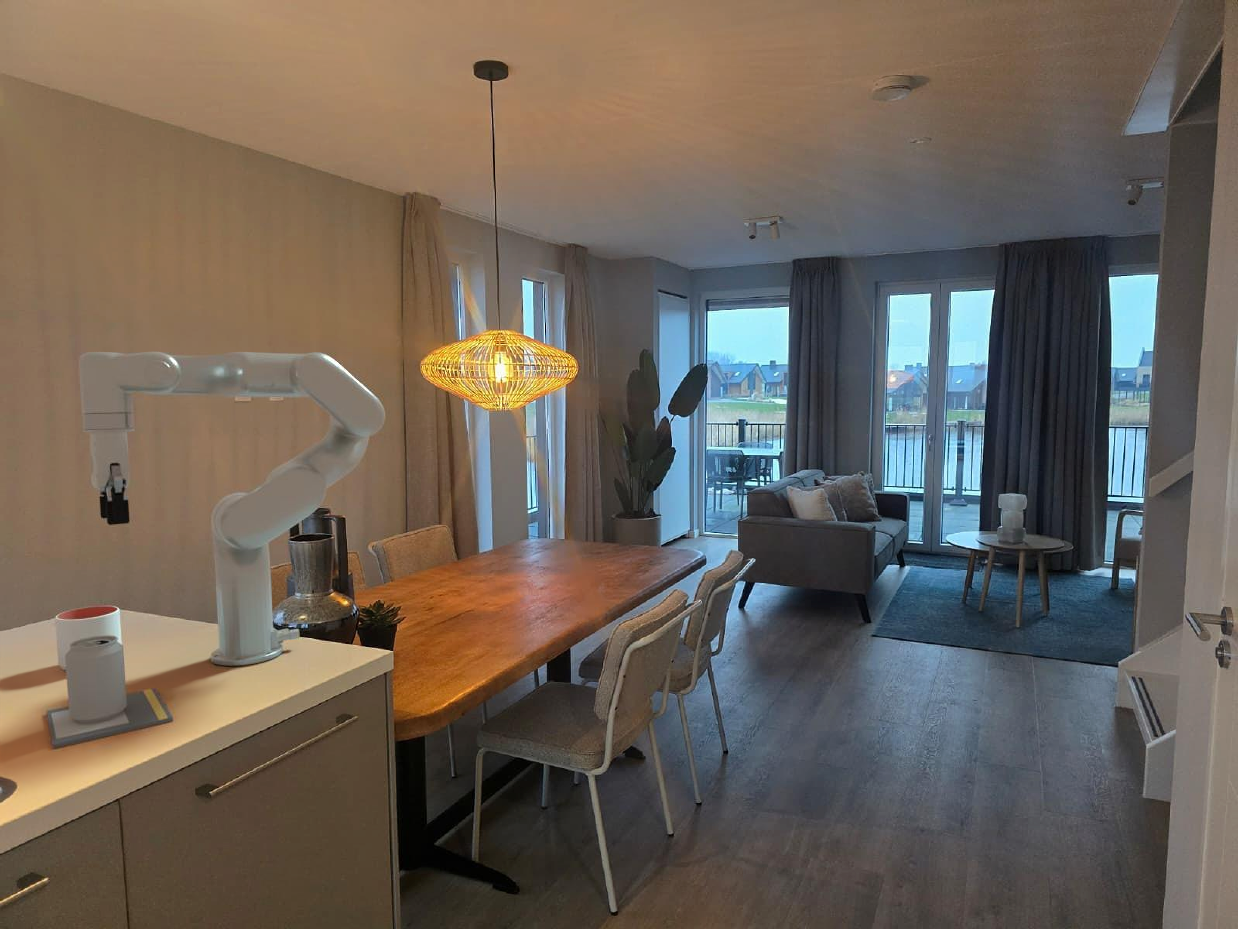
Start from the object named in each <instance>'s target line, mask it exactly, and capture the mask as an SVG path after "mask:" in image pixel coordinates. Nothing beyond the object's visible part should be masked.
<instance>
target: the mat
mask: <svg viewBox="0 0 1238 929" xmlns="http://www.w3.org/2000/svg"><path fill="white" fill-rule="evenodd" d="M126 698H127V707H126V708H125V709H124V710H123V711H122V712H121V713H120V714H119V715H118V716H116V717H114V718H111V719H109V720H105V721H101V722H96V723H79V722H77V721H76V720H74V719H72V718H70V717H69V705H67V706H64V707H63V706H62V707H58V708H53V709H48V710H45V712H46V718H47V724H48V729H49V734H50V738H51V739H50V740H51V744H52V749H59V748H63V747H67V746H71V745H76V744H80V743H85V742H88V741H93V740H97V739H101V738H106V737H110V736H115V735H119V734H123V733H127V732H131V731H135V730H137V731H138V730H140V729H145V728H149V727H153V726H157V725H162V724H166V723H170V722H173V721H174V720H173V716H172V715H171V713H170V711H169V710H168V707H167V706H166V704H165V702H164V701H163V699H162V697H161V695H160V694H159V692H158V691H157V689H156V688H147V689H142V690H140V691H135V692H131V693H130V692H129V693H126Z"/></svg>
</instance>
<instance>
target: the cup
mask: <svg viewBox="0 0 1238 929" xmlns="http://www.w3.org/2000/svg"><path fill="white" fill-rule="evenodd" d="M54 620H55V621H54V622H55V636H56V646H57V647H56V649H57V661H58V662H57V664H58V665H59V667H60V668H61V669H62V670H64V671H66V661H65V655H66V653H67V652H68V651H69V650H70V649H71V647H70V644H71V643H73V642H74V641H77V640H80V639H84V638H88V637H94V636H104V635H111V636H116V637H118V640H117V642H119V643H120V644H121V645H123V643H122V629H121V628H122V627H121V612H120V608H119V607H117V606H114V605H98V606H97V605H96V606H86V607H85V606H84V607H80V608H74V609H70V610H67V611H66V610H65V611H64V612H61V613H59V614H57V615H56V616H55V617H54Z"/></svg>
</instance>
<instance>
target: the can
mask: <svg viewBox="0 0 1238 929" xmlns="http://www.w3.org/2000/svg"><path fill="white" fill-rule="evenodd" d="M117 640H118V637H116V636H111V635H104V636H94V637H88V638H84V639H80V640H77V641H74V642H73V643H71V644H70V647H71V649H70V650H69V651H68V652H67V653H66V655H65V661H66V670H65V671H66V672H65V674H66V675H65V676H66V687H67V689H66V690H67V701H68V706H69V717H70V718H72V719H74V720H76V721H77V722H79V723H96V722H101V721H105V720H109V719H111V718H114V717H116V716H118V715H119V714H120V713H121V712H122V711H123V710H124V709H125V708H126V707H127V698H126V694H127V687H126V686H127V683H126V672H125V656H124V654H125V653H124V652H125V651H124V645H123V644H122V645H121V644H120V643H119V642H117Z"/></svg>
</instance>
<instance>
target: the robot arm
mask: <svg viewBox="0 0 1238 929" xmlns="http://www.w3.org/2000/svg"><path fill="white" fill-rule="evenodd" d="M78 373H79V374H78V375H79V386H80V401H81V402H80V403H81V416H82V419H81V420H82V432H83V433H85V434H86V433H88V434H90V436H89V438H90V440H89V450H90V455H89V456H90V476H91V480H90V481H91V482H90V483H91V486H92V487H94V488H95V489H96V490H98V491H99V493H100V496H99V509H100V510H99V511H100V512H99V514H100V518H101V519H106V522H107V524H108V525H110V526H113V525H125V524H130V508H129V500H128V494H127V488H128V487H129V486H130V456H129V443H128V442H129V441H128V432H135V418H134V403H133V392H134V393H144V394H149V395H155V396H156V395H157V396H158V395H159V396H160V395H161V396H163V395H166V396H167V395H175V396H177V395H179V396H180V395H181V396H182V395H185V396H186V395H189V396H191V395H192V396H193V395H194V396H195V395H197V396H198V395H199V396H200V395H201V396H204V395H205V396H207V395H208V396H222V397H229V398H311V399H312V400H313V401H314V402H315V403H317V405H319V406H320V408H322V409H323V410H324V411H326V413H328V414H329V422H330V423H329V427H328V431H327V433H326V434H325V435H324V437H323V438H322V439H320V440H319V441H317V442H316V443H315V444H313V445H311V447H309V448H307V449H306V450H304V451H303V452H301V453H299V454H297V455H296V456H294V457H293V458H291V459H290V460H288V461H285V462H284V463H282V464H280V465H278V466H277V467H275V468H274V469H273V470H272V471H271V472H270V473H269V474H268V475H267V478H266V481H265V482H264V483H263V484H261V485H259V486H258V487H256V488H255V489H253V490H251V491H250V492H248V493H247V492H233V493H230V494H227V495H226V496H224V497H222V498H221V499H219V501H218V502H217V503H216V505H215V506H214V507H213V510H212V513H211V519H210V526H211V537H212V544H213V545H212V546H213V556H214V567H215V568H214V570H215V571H214V572H215V589H216V590H215V592H216V595H215V596H216V608H217V609H216V610H217V626H218V627H217V629H218V632H217V633H218V645H219V646H218V648H216V649H214V650H213V651H212V652H211V654H210V662H211V663H213V664H215V665H218V666H224V667H225V666H226V667H229V666H230V667H231V666H232V667H235V666H246V665H252V664H253V665H254V664H258V663H263V662H265V661H270V660H272V659H274V658H277V657H278V656H280V655H281V654H282V653H283V651H284V648H283V644H282V643H283V642H284V641H291V640H297V639H300V635H301V634H300V630H299V628H294V629H289V628H283V629H279V630H278V629H276V628H275V627H274V622H273V620H274V619H273V618H274V616H273V600H272V597H273V596H272V578H271V577H272V576H271V574H272V573H271V557H270V555H271V554H270V548H269V543H270V542H271V541H273V540H275V539H276V538H277V537H280V536H282V534H284V533H286V532H287V531H289V530H290V529H292V528H293V527H295V526H297V525H298V524H299V523H301V522H302V521H304V520H305V519H306V518H308V517H309V516H311V515H312V514H314V513H315V511H316V510H318V509H319V508H320V507H321V506H322V504H323V502H324V500H325V499H326V496H327V489H328V488H330V487H332V486H333V485H335V484H336V483H337V482H338V481H339V480H341V479H343V478H344V477H346V476H347V475H348V474H349V473H351V472H352V471H353V470H355V468H356V467H357V466H358V465H359V464H360V463H361V461H362V459H363V458H364V456H365V453H366V450H367V448H368V444H369V441H370V440H369V438H370V436H371V437H372V436H373V435H375V434H377V433H378V432H379V431H380V430H381V429H382V428H383V426H384V423H385V421H386V412H385V408H384V405H383V404H382V402H381V400H380V399H379V398H378V397H377V396H376V395H375V394H374V393H372V391H370V390H369V389H368V388H367V387H366V386H365V385H364V384H363V383H361V382H360V381H359V380H357V378H355V377H354V376H353V375H352V374H351V373H350V372H349V371H348V370H347V369H346V368H344V367H343V366H342V365H341V364H340V363H339V362H338V361H336V360H335V359H334V358H333V357H331V356H329V355H328V354H325V353H323V352H308V353H279V352H278V353H277V352H276V353H275V352H274V353H273V352H253V351H252V352H251V351H250V352H249V351H237V352H235V351H233V352H227V353H222V354H214V355H212V354H211V355H210V354H209V355H176V354H175V355H174V354H168V353H165V352H162V351H146V352H137V353H135V352H134V353H120V352H115V351H114V352H112V351H111V352H110V351H109V352H107V351H106V352H105V351H91V352H85V353H82V354H81V355H80V357H79V360H78Z"/></svg>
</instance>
